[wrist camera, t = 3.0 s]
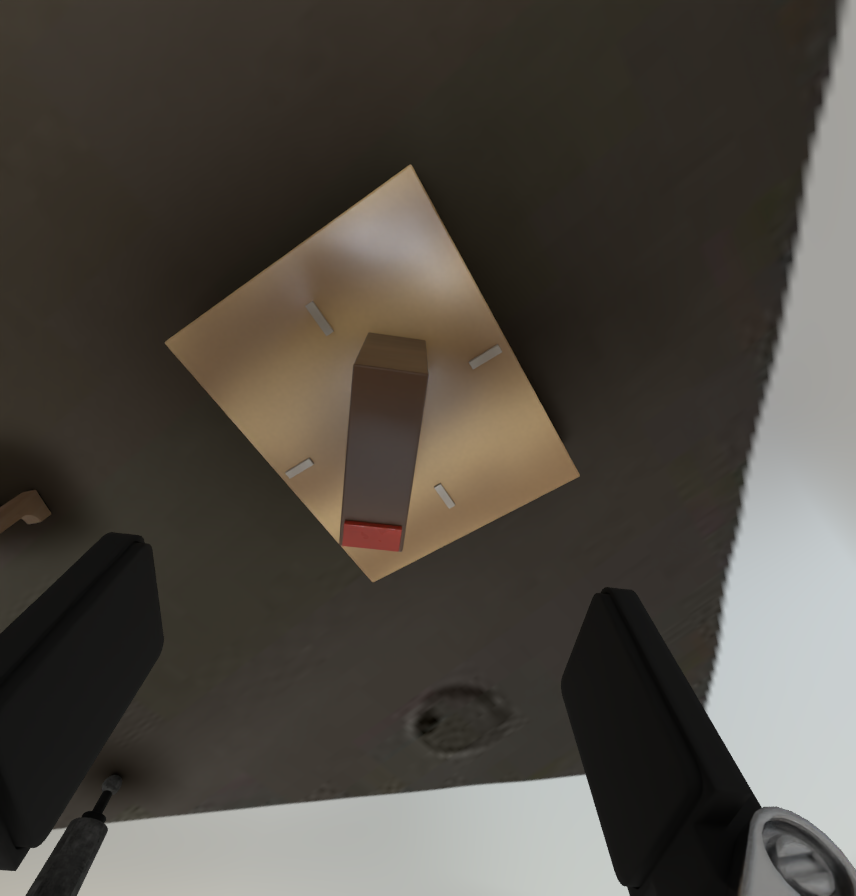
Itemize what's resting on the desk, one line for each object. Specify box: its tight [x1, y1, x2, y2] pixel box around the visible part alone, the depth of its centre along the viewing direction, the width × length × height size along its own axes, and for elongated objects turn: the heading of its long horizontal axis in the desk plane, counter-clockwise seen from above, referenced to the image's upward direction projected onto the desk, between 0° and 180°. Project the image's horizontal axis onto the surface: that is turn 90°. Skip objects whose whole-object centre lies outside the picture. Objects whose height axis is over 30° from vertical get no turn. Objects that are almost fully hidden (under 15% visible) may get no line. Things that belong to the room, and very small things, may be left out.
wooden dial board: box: [165, 165, 580, 582], centre depth 22 cm, size 15×12×4 cm
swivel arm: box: [339, 332, 429, 552], centre depth 18 cm, size 7×2×5 cm, turn 172°
